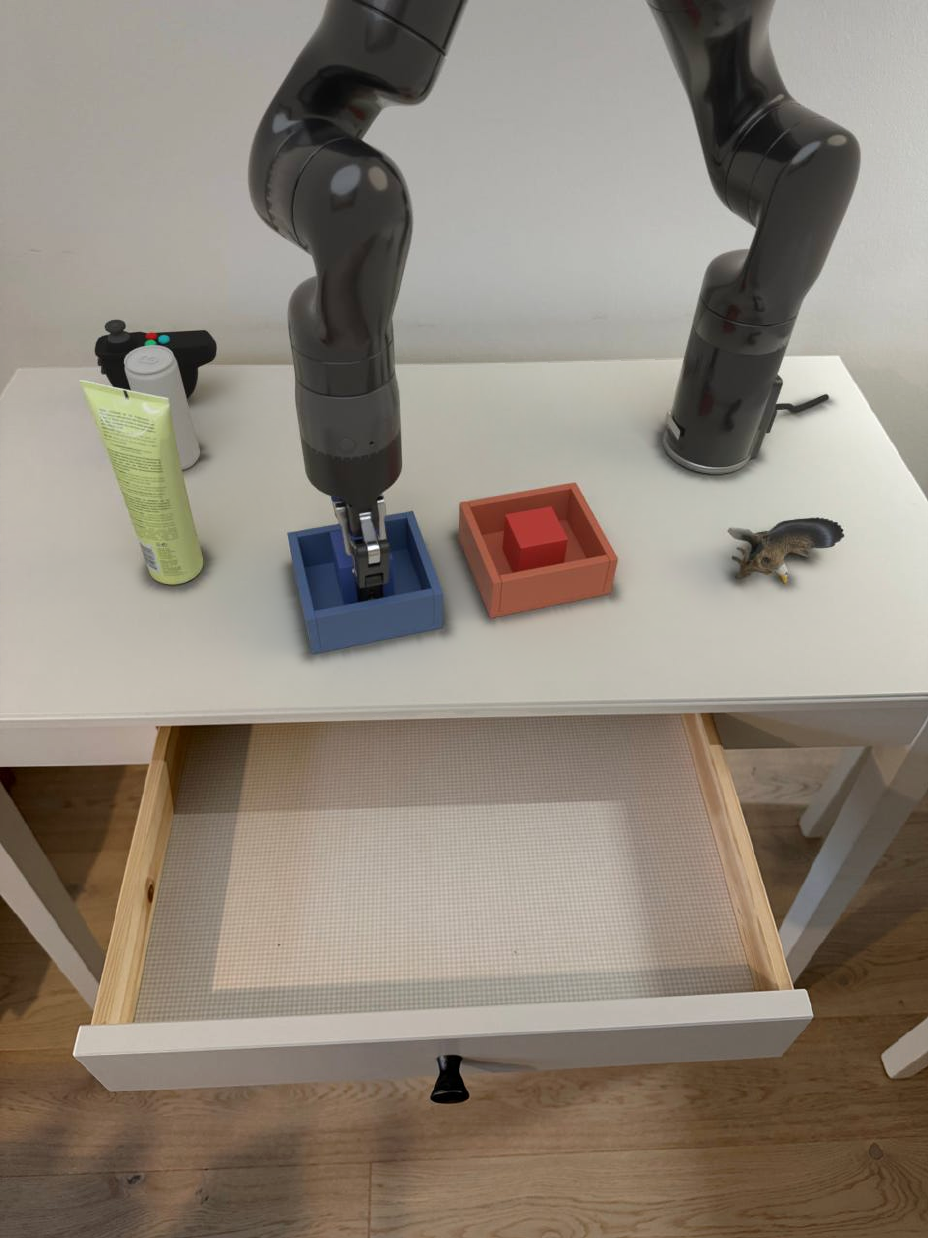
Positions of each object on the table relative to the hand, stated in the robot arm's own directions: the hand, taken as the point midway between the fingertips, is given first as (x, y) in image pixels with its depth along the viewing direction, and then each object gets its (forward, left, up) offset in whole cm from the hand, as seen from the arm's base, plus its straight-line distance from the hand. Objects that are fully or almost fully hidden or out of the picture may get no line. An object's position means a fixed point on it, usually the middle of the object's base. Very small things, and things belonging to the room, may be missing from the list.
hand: (364, 578), depth 78 cm
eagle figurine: (-38, +6, -3) cm, 39 cm away
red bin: (-16, 0, -3) cm, 16 cm away
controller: (+15, -34, -3) cm, 37 cm away
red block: (-16, 0, -2) cm, 16 cm away
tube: (+16, -8, -3) cm, 18 cm away
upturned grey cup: (+15, -24, -3) cm, 28 cm away
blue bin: (0, 0, -3) cm, 3 cm away
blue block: (0, 0, 0) cm, 0 cm away
